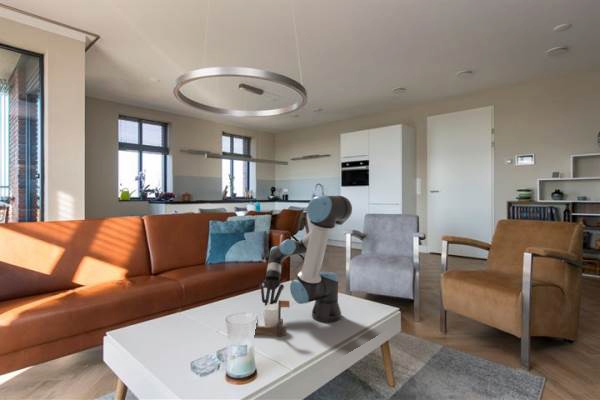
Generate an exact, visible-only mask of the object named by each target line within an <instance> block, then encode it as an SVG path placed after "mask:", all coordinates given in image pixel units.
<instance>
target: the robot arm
mask: <svg viewBox="0 0 600 400" xmlns="http://www.w3.org/2000/svg"><path fill="white" fill-rule="evenodd" d="M306 208H307V210H306V212H307V213H306V214H307V217H308V219H309V223H310V224H311V229H310V230H309V232H308V233H307V234H305V236H304V237H302V238H301V239H300V240H297V241H295V240H294V241H293V240H292V239H289V238H288V239H285V240H283V241H282V242H281V243H279V245H278V246H277V245H275V246H272V247H271V248H270V251H269V255H268V262H267V268H266V274H265V280H264V281H263V283H261V282H260V283H259V289H260V294H261V301H262V303H263V304H264V306H266V305H269V304H276V305H277V304H278V301H279V298H280V296H281V293H282V291H283V290H284V288H285V285H284V284H282V283H281V281H280V280H281V274H282V266H283V261H285V260H287V259H286V258H288V257H293V256H299V255H301V256H302V255H305V256H304V261H303V264H302V269H301V270H300V271H299V272H298V273H297V277H296V278H295V279H293V280H292V281H291V282H290V285H289V289H290V290H289V291H290V294H291V297H292V298H293V300H294V301H295V302H296V303H298V304H299V305H301V304H302V305H303V304H308V303H310V302H315V303H314V304H313V307H312V310H311V317H312V319H314V320H315V321H318V322H323V323H333V322H332V321H334V322H337V320H338V321H340V320H341V319H342V312H341V306H340V304H339V276H338V274H337V273H335V272H332V271H327V270H322V265H323V262H324V257H325V253H326V249H327V245H328V241H329V237H330V233H331V232H332V231H333V230H334V229H335V228H337V226H339V225H340V226H342V225H343V224H344V223H345V222H347V220H348V219H349V218H350V217H351V215H352V213H353V212H352V211H353V205H352V203H351V201H350V200H349V198H347V197H345V196H343V195H324V194H323V195H316V196H315V197H312V199H311V200H310V201H309V203H308V205H307V207H306ZM264 288H266V294H265V290H264ZM277 289H278V290H277ZM276 290H277V292H276ZM275 294H276V295H275ZM269 301H270V302H269ZM340 318H341V319H340Z"/></svg>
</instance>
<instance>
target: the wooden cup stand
mask: <svg viewBox="0 0 600 400" xmlns="http://www.w3.org/2000/svg"><path fill="white" fill-rule="evenodd" d="M277 305H278V327H271V326H265V325H264V326H263V325H259V318H258V319H257V323H256V329H255V335H254V336H276V337H277V336H278V338H280V337H285V336H286V326H284V318H282V317H281V314H282V313H281V311H282V310H281V309H282V308H290V300H281V299H278V301H277Z"/></svg>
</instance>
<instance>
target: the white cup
mask: <svg viewBox="0 0 600 400" xmlns="http://www.w3.org/2000/svg"><path fill="white" fill-rule="evenodd" d="M263 319H264V320H263V322H264V326H271V327H278V304H277V303H276V304H269V305H266V306H265V305H264V306H263Z"/></svg>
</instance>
